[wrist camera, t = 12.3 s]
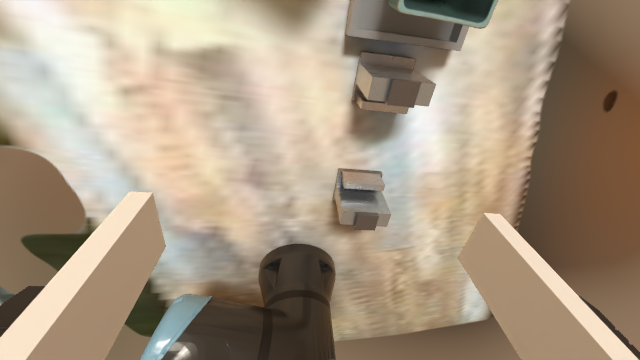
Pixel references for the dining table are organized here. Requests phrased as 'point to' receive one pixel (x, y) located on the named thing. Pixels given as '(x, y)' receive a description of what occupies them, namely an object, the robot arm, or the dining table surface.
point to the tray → (401, 26)
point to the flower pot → (449, 10)
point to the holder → (387, 96)
